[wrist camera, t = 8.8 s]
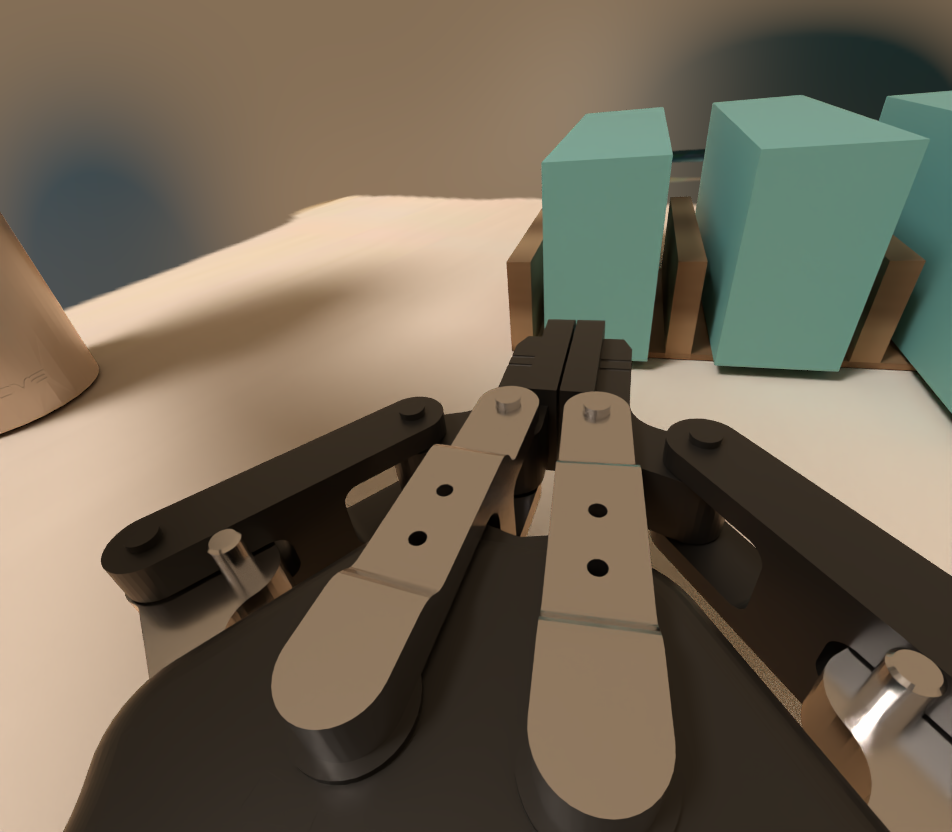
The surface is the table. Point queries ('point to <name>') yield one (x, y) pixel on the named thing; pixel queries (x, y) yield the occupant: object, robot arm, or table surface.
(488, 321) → the table surface
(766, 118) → the plunger middle
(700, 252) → the slot block
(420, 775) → the robot arm
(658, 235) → the plunger
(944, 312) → the plunger
